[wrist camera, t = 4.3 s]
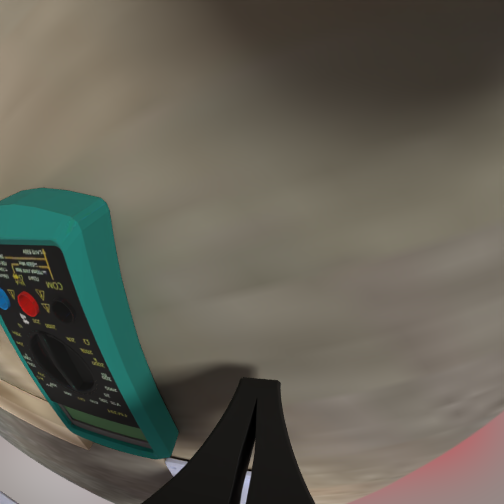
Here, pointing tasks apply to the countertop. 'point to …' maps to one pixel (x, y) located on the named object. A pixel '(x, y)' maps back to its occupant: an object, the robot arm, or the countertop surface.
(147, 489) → the countertop surface
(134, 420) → the digital multimeter
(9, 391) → the notched board
